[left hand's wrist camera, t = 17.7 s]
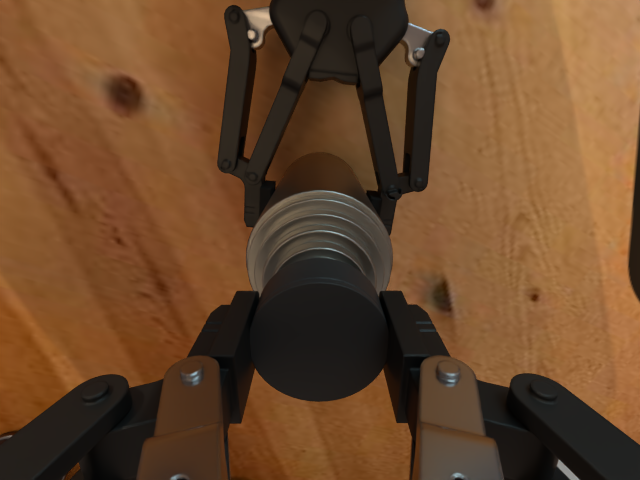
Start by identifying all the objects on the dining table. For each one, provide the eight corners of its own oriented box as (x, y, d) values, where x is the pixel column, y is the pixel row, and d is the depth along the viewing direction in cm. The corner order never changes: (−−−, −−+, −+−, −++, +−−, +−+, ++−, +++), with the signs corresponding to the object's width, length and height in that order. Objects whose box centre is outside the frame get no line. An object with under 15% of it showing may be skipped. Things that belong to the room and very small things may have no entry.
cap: (356, 238, 11) (362, 261, 10) (396, 341, 13) (408, 378, 11) (237, 282, 12) (222, 312, 10) (287, 376, 13) (283, 417, 12)
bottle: (367, 215, 32) (450, 390, 12) (296, 238, 33) (259, 440, 13) (344, 141, 30) (398, 199, 10) (269, 167, 31) (169, 275, 10)
